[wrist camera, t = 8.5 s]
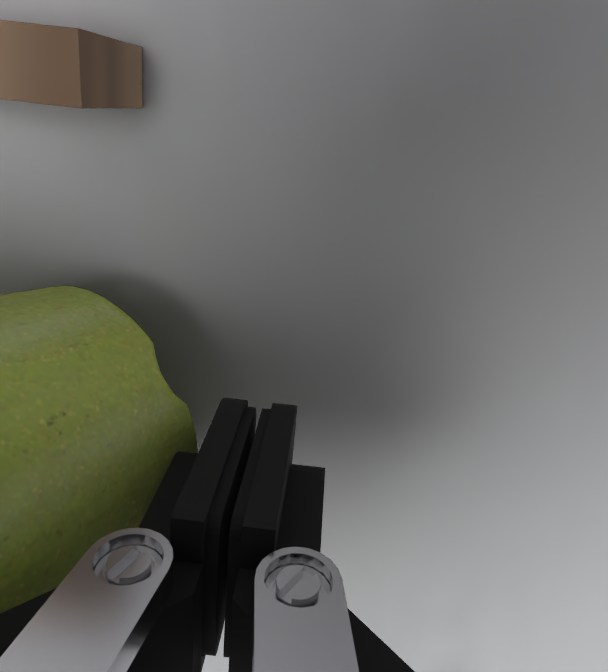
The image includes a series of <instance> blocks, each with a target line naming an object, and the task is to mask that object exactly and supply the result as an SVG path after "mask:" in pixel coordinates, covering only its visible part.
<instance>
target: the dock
mask: <svg viewBox="0 0 608 672" xmlns="http://www.w3.org/2000/svg"><path fill="white" fill-rule="evenodd" d="M0 99H4V100H13V101H22V102H31V103H39V104H48V105H57V106H65V107H74V108H142V47H140V46H137V45H133V44H130V43H126V42H123V41H119V40H116V39H112V38H109V37H106V36H102V35H99V34H95V33H92V32H88V31H85V30H81V29H78V28H69V27H60V26H51V25H42V24H33V23H24V22H15V21H5V20H0Z"/></svg>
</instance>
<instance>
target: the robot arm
mask: <svg viewBox="0 0 608 672" xmlns="http://www.w3.org/2000/svg"><path fill="white" fill-rule="evenodd" d="M296 414H297V406H294V405H285V404H276V403H273V404H272V408H271V409H262V412H261V415H260V419H259V422H258V426H257V430H256V433H255V426H256V408H254V407H248V401H247V400H240V399H231V398H222V400H221V402H220V405H219V407H218V409H217V411H216V414H215V416H214V418H213V421H212V423H211V425H210V427H209V430H208V432H207V434H206V437H205V439H204V441H203V444H202V446H201V448H200V450H199V453H190V452H181V451H179V452H177V453H176V454H175V456H174V458H173V460H172V462H171V464H170V466H169V468H168V470H167V472H166V474H165V476H164V478H163V480H162V482H161V484H160V486H159V487H158V489H157V491H156V493H155V495H154V497H153V499H152V501H151V503H150V505H149V507H148V509H147V511H146V513H145V515H144V517H143V519H142V521H141V523H140V525H139V527H138V528H129V529H122V530H119V531H116V532H112V533H110V534H108V535H106V536H104V537H102V538H101V539H99V540H98V541H97V542H95V543H94V544H93V545H92V546H91V547H90V548H89V549H88V550H87V552H86V553H85V554H84V555H83V557H82V558H81V559H80V560H79V561H78V563H77V564H76V565H75V566H74V568H73V569H72V570H71V571H70V572H69V574H68V575H67V576H66V577H65V579H64V580H63V581H62V582H61V583H60V585H59V586H58V587H57V588H55V589H53V590H51V591H48V592H46V593H44V594H42V595H40V596H38V597H35V598H33V599H31V600H29V601H27V602H24V603H22V604H20V605H18V606H16V607H13V608H11V609H9V610H7V611H5V612H3V613H0V672H201V671H202V667H203V663H204V659H205V655H213V656H215V655H216V653H217V650H218V646H219V642H220V638H221V633H222V629H223V625H224V621H225V633H224V657H229V672H414V671H413V670H412V669H411V668H410V667H409V666H408V665H407V664H406V663H405V662H404V661H403V660H402V659H401V658H400V657H399V656H398V655H396V654H395V653H394V652H393V651H392V650H391V649H390V648H389V647H388V646H387V645H386V644H385V643H384V642H383V641H382V640H381V639H380V638H378V637H377V636H376V635H375V634H374V633H373V632H372V631H371V630H370V629H369V628H368V627H367V626H366V625H365V624H364V623H363V622H362V621H361V620H359V619H358V618H357V617H356V616H355V615H354V614H353V613H352V612H351V611H350V610H349V609H348V608H347V603H346V597H345V592H344V586H343V581H342V577H341V575H340V572H339V569H338V568H337V567H336V565H335V564H334V563H333V562H332V561H331V559H329V558H328V557H326V556H325V555H323V554H322V553H320V547H321V530H322V513H323V495H324V478H325V468H321V467H312V466H303V465H295V464H292V457H293V446H294V435H295V425H296Z"/></svg>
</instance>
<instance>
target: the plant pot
mask: <svg viewBox="0 0 608 672" xmlns="http://www.w3.org/2000/svg"><path fill="white" fill-rule="evenodd" d="M179 451H181V452H190V453H198V449H197V440H196V434H195V429H194V424H193V420H192V417H191V414H190V411H189V408H188V406H187V405H186V404H185V403H184V402H183V401H182V400H181V399H179V398H178V397H177V396H176V395H175V394H174V393H173V392H172V390H171V389H170V388H169V386H168V385H167V383H166V381H165V380H164V378H163V376H162V374H161V372H160V369H159V366H158V363H157V359H156V355H155V350H154V345H153V342H152V341H151V339H150V338H149V337H148V335H147V334H146V333H145V332H144V331H143V330H142V329H141V328H140V327H139V325H138V324H137V323H136V322H135V321H134V320H133V319H132V318H131V317H129V316H128V315H127V314H126V313H125V312H124V311H123V310H121V309H120V308H119V307H117V306H116V305H114V304H113V303H112V302H110V301H109V300H107V299H106V298H104V297H102V296H100V295H98V294H95V293H93V292H91V291H89V290H85V289H82V288H78V287H74V286H55V287H48V288H42V289H36V290H29V291H22V292H16V293H10V294H4V295H0V613H3V612H5V611H7V610H9V609H11V608H13V607H16V606H18V605H20V604H22V603H24V602H27V601H29V600H31V599H33V598H35V597H38V596H40V595H42V594H44V593H46V592H48V591H51V590H53V589H55V588H57V587H58V586H59V585H60V583H61V582H62V581H63V580H64V579H65V577H66V576H67V575H68V574H69V572H70V571H71V570H72V569H73V568H74V566H75V565H76V564H77V563H78V561H79V560H80V559H81V558H82V557H83V555H84V554H85V553H86V552H87V550H88V549H89V548H90V547H91V546H92V545H93V544H94V543H95V542H97V541H98V540H99V539H101V538H102V537H104V536H106V535H108V534H110V533H112V532H116V531H119V530H122V529H129V528H138V527H139V525H140V523H141V521H142V519H143V517H144V515H145V513H146V511H147V509H148V507H149V505H150V503H151V501H152V499H153V497H154V495H155V493H156V491H157V489H158V487H159V486H160V484H161V482H162V480H163V478H164V476H165V474H166V472H167V470H168V468H169V466H170V464H171V462H172V460H173V458H174V456H175V454H176V453H177V452H179Z"/></svg>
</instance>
